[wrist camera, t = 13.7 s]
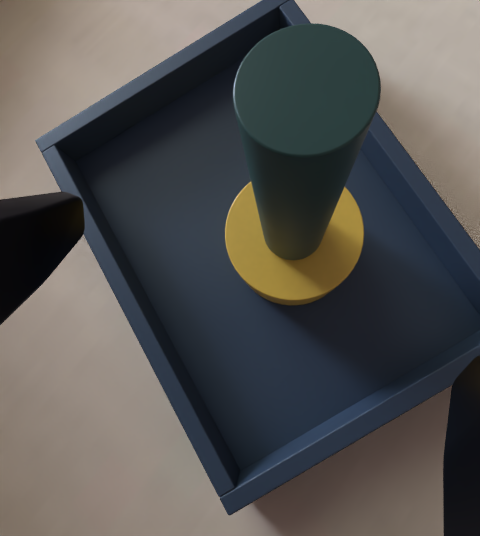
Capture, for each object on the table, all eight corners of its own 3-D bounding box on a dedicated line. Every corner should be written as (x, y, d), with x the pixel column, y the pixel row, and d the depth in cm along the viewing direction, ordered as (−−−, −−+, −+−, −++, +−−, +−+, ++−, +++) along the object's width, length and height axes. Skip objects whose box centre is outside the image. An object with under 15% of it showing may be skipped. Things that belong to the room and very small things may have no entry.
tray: (503, 331, 18) (542, 332, 15) (237, 488, 18) (228, 516, 16) (284, 29, 22) (284, -14, 19) (65, 163, 22) (34, 140, 19)
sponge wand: (370, 273, 18) (565, 152, 6) (265, 325, 19) (223, 319, 6) (316, 175, 19) (376, -115, 7) (217, 225, 20) (92, 35, 7)
